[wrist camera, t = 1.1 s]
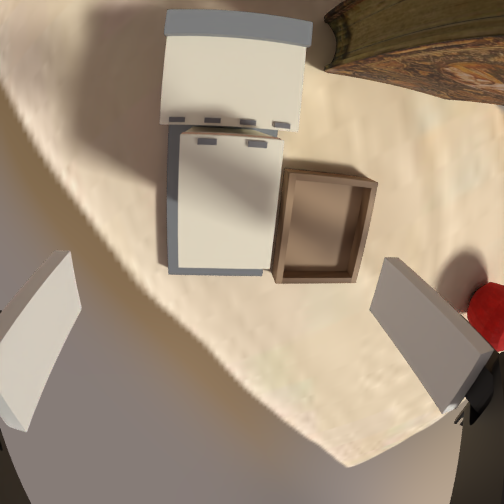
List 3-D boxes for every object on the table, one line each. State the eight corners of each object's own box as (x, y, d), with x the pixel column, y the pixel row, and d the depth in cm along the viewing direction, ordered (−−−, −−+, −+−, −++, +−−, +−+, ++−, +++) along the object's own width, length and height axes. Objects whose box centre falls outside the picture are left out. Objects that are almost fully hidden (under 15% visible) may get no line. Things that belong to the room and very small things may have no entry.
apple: (474, 266, 36) (523, 305, 26) (503, 272, 38) (545, 307, 28) (446, 322, 40) (485, 368, 30) (477, 322, 42) (513, 361, 32)
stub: (192, 126, 23) (179, 134, 13) (254, 129, 24) (285, 140, 14) (189, 208, 26) (177, 269, 16) (247, 209, 27) (270, 270, 17)
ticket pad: (180, 42, 20) (167, 9, 12) (280, 49, 21) (312, 22, 14) (173, 121, 23) (156, 125, 15) (273, 126, 24) (302, 133, 17)
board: (178, 34, 21) (177, 31, 20) (283, 42, 22) (286, 39, 21) (169, 268, 30) (168, 274, 29) (260, 270, 31) (262, 276, 30)
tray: (284, 168, 27) (289, 172, 25) (367, 177, 28) (377, 182, 27) (271, 272, 32) (275, 283, 30) (348, 273, 33) (355, 282, 31)
